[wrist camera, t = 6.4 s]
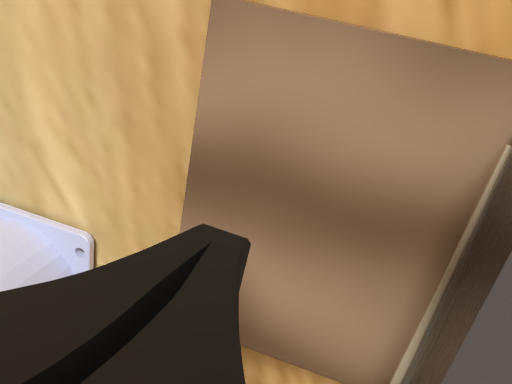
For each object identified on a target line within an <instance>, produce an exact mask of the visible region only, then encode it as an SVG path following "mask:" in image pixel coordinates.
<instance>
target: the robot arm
mask: <svg viewBox="0 0 512 384" xmlns="http://www.w3.org/2000/svg"><path fill="white" fill-rule="evenodd" d="M250 246H251V243H250V241H249V240H248V238H245V237H242V236H239V235H236V234H233V233H230V232H227V231H224V230H221V229H218V228H215V227H212V226H209V225H206V224H203V223H202V224H200V225H198V226H195V227H193V228H191V229H189V230H187V231H185V232H183V233H180V234H178V235H176V236H174V237H172V238H170V239H167V240H165V241H163V242H161V243H158V244H156V245H154V246H152V247H149V248H147V249H145V250H142V251H140V252H137V253H135V254H132V255H129V256H127V257H124V258H122V259H119V260H116V261H114V262H111V263H108V264H106V265H103V266H100V267H97V268H94V269H93V266H94V240H93V238H92V236H91V235H90V234H89V233H87V232H85V231H82V230H80V229H77V228H74V227H71V226H68V225H65V224H62V223H59V222H56V221H53V220H50V219H48V218H45V217H42V216H39V215H36V214H33V213H30V212H27V211H24V210H21V209H18V208H16V207H13V206H10V205H7V204H4V203H1V202H0V384H246V383H245V378H244V372H243V364H242V356H241V347H240V336H239V291H240V287H241V282H242V278H243V274H244V270H245V266H246V262H247V258H248V254H249V250H250ZM81 249H82V250H83V251H84V252H83V251H82V250H81Z"/></svg>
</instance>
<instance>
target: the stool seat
mask: <svg viewBox="0 0 512 384" xmlns="http://www.w3.org/2000/svg"><path fill="white" fill-rule="evenodd" d="M511 153H512V60H510V59H506V58H501V57H497V56H492V55H488V54H483V53H479V52H474V51H470V50H465V49H461V48H456V47H452V46H447V45H443V44H438V43H434V42H429V41H425V40H420V39H416V38H411V37H407V36H402V35H398V34H393V33H388V32H384V31H379V30H375V29H370V28H366V27H361V26H357V25H352V24H348V23H343V22H339V21H334V20H330V19H325V18H321V17H316V16H312V15H307V14H303V13H298V12H294V11H289V10H285V9H280V8H276V7H271V6H267V5H262V4H258V3H253V2H249V1H244V0H212V2H211V9H210V17H209V24H208V31H207V39H206V46H205V53H204V60H203V68H202V75H201V82H200V90H199V97H198V104H197V112H196V119H195V126H194V134H193V141H192V148H191V155H190V163H189V170H188V177H187V185H186V192H185V199H184V207H183V214H182V221H181V229H180V233H183V232H185V231H187V230H189V229H191V228H193V227H195V226H198V225H200V224H202V223H203V224H206V225H209V226H212V227H215V228H218V229H221V230H224V231H227V232H230V233H233V234H236V235H239V236H242V237H245V238H248V240H249V241H250V243H251V246H250V250H249V254H248V258H247V262H246V266H245V270H244V274H243V278H242V282H241V287H240V291H239V336H240V345H241V346H244V347H246V348H249V349H252V350H255V351H257V352H260V353H263V354H265V355H268V356H271V357H274V358H276V359H279V360H282V361H284V362H287V363H290V364H292V365H295V366H298V367H301V368H303V369H306V370H309V371H311V372H314V373H317V374H320V375H322V376H325V377H328V378H330V379H333V380H336V381H338V382H341V383H344V384H402V383H403V381H404V379H405V377H406V375H407V373H408V371H409V369H410V367H411V364H412V362H413V360H414V358H415V356H416V354H417V352H418V350H419V348H420V345H421V343H422V341H423V339H424V337H425V335H426V333H427V331H428V328H429V326H430V324H431V322H432V320H433V318H434V316H435V314H436V312H437V309H438V307H439V305H440V303H441V301H442V299H443V297H444V295H445V292H446V290H447V288H448V286H449V284H450V282H451V280H452V278H453V276H454V273H455V271H456V269H457V267H458V265H459V263H460V261H461V259H462V257H463V254H464V252H465V250H466V248H467V246H468V244H469V242H470V240H471V237H472V235H473V233H474V231H475V229H476V227H477V225H478V223H479V221H480V218H481V216H482V214H483V212H484V210H485V208H486V206H487V204H488V201H489V199H490V197H491V195H492V193H493V191H494V189H495V187H496V185H497V182H498V180H499V178H500V176H501V174H502V172H503V170H504V168H505V166H506V163H507V161H508V159H509V157H510V155H511Z"/></svg>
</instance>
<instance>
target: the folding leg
mask: <svg viewBox="0 0 512 384" xmlns="http://www.w3.org/2000/svg"><path fill="white" fill-rule="evenodd" d="M402 384H512V153H511V155H510V157H509V159H508V161H507V163H506V166H505V168H504V170H503V172H502V174H501V176H500V178H499V180H498V182H497V185H496V187H495V189H494V191H493V193H492V195H491V197H490V199H489V201H488V204H487V206H486V208H485V210H484V212H483V214H482V216H481V218H480V221H479V223H478V225H477V227H476V229H475V231H474V233H473V235H472V237H471V240H470V242H469V244H468V246H467V248H466V250H465V252H464V254H463V257H462V259H461V261H460V263H459V265H458V267H457V269H456V271H455V273H454V276H453V278H452V280H451V282H450V284H449V286H448V288H447V290H446V292H445V295H444V297H443V299H442V301H441V303H440V305H439V307H438V309H437V312H436V314H435V316H434V318H433V320H432V322H431V324H430V326H429V328H428V331H427V333H426V335H425V337H424V339H423V341H422V343H421V345H420V348H419V350H418V352H417V354H416V356H415V358H414V360H413V362H412V364H411V367H410V369H409V371H408V373H407V375H406V377H405V379H404V381H403V383H402Z"/></svg>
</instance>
